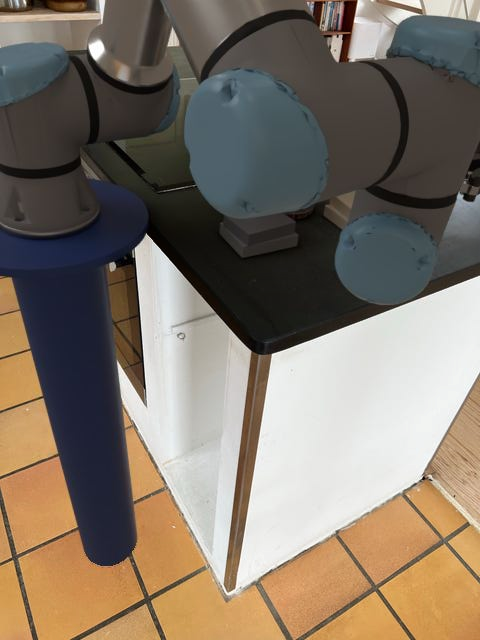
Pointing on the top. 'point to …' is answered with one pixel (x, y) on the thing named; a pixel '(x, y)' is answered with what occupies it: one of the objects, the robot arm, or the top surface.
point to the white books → (340, 209)
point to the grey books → (259, 234)
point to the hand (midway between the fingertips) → (426, 132)
